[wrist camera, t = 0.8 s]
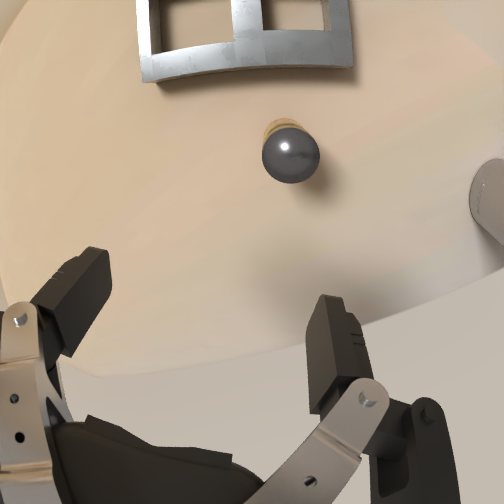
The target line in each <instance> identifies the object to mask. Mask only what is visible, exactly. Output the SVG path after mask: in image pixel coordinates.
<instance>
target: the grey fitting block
mask: <svg viewBox="0 0 504 504" xmlns="http://www.w3.org/2000/svg"><path fill="white" fill-rule="evenodd" d="M321 3H322V12H323V21H324V31H321V30H267V31H263V22H262V11H261V1H260V0H231V8H232V20H233V31H234V41H233V42H224V43H216V44H209V45H202V46H196V47H190V48H184V49H179V50H174V51H169V52H165V53H162V42H161V28H160V12H159V0H137V23H138V39H139V52H140V64H141V74H142V83H157V82H162V81H167V80H172V79H177V78H183V77H189V76H195V75H202V74H209V73H217V72H225V71H235V70H246V69H261V68H289V67H311V68H338V69H347V68H350V67H354V63H353V48H352V36H351V26H350V16H349V8H348V0H321Z"/></svg>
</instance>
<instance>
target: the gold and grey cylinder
mask: <svg viewBox="0 0 504 504" xmlns="http://www.w3.org/2000/svg"><path fill="white" fill-rule="evenodd" d="M319 159H320V153H319V148H318V145H317V143H316V142H315V140H314V139H313V138H312V137H311V136H310V135H309V134H308V132H307V131H306V130H305V129H304V128H303V127H302V126H301V125H300V124H299V123H297V122H296V121H294V120H291V119H286V118H283V119H278V120H275V121H273V122H272V123H271V124H270V125H269V126H268V127H267V129H266V130H265V133H264V140H263V149H262V161H263V165H264V167H265V169H266V171H267V172H268V173H269V174H270V175H271V176H272V177H273V178H274V179H276V180H278V181H280V182H283V183H291V184H292V183H299V182H302V181H304V180H306V179H307V178H309V177H310V176H311V175H312V174H313V173H314V172H315V170H316V169H317V167H318V164H319Z"/></svg>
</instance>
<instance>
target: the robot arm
mask: <svg viewBox="0 0 504 504" xmlns="http://www.w3.org/2000/svg"><path fill="white" fill-rule="evenodd" d="M470 209H471V213H472V215H473V218H474V219H475V220H476V222H477V223H479V224H480V225H481V226H482V227H483V228H484V229H485V230H486V231H488V232H489V233H490V234H491V235H492V236H493V237H494V238H495V239H496V240H497V241H498V242H499V243H500V244H501V245H502V246H503V247H504V160H501V159H493V160H491V161H488V162H487V163H486V164H484V165H483V166H482V167H481V169H480V170H479V171H478V173H477V175H476V176H475V178H474V181H473V183H472V187H471V191H470ZM111 290H112V277H111V269H110V259H109V253H108V251H107V250H104V249H99V248H95V247H91V246H90V247H88V248H86V249H85V250H84V251H83V253H82V254H81V255H80V256H79V257H77V256H76V257H74V258H72V259H70V260H68V261H67V262H65V263H64V264H63V265H62V266H61V267H60V268H59V269H58V272H56V273H55V274H54V275H53V276H52V278H51V279H49V280H48V281H47V282H46V284H45V285H44V286H43V287H42V288H41V289H40V290H39V292H38V293H37V294H36V295H35V296H34V297H33V298H32V300H31V301H30V302H18V303H15V304H13V305H11V306H10V307H9V308H8V309H7V310H6V311H5V312H3V311H0V504H332V502H333V501H334V500H335V498H336V497H337V496H338V495H339V493H340V492H341V490H342V489H343V488H344V486H345V485H346V484H347V482H348V481H349V480H350V478H351V477H352V475H353V474H354V472H355V471H356V469H357V468H358V466H359V464H360V462H361V460H362V458H361V457H360V454H361V453H363V454H367V455H369V464H370V491H371V504H461V502H460V493H459V486H458V480H457V472H456V466H455V461H454V455H453V450H452V446H451V440H450V436H449V432H448V427H447V423H446V419H445V415H444V412H443V410H442V408H441V406H440V405H439V404H438V403H437V402H436V401H434V400H433V399H431V398H427V397H422V398H419V399H417V400H416V401H415V402H414V403H413V404H412V405H410V404H406V403H403V402H400V401H397V400H394V399H391V398H389V395H388V392H387V391H386V389H385V388H384V387H383V386H382V385H381V384H380V383H379V382H377V381H375V380H374V377H373V372H372V368H371V364H370V360H369V356H368V352H367V348H366V346H365V340H364V337H363V333H362V329H361V325H360V323H359V322H358V320H357V319H356V317H355V316H354V315H353V313H347V312H346V310H345V306H344V302H343V299H342V298H341V297H335V296H329V295H323V294H322V295H321V296H320V297H319V300H318V302H317V304H316V307H315V309H314V312H313V314H312V316H311V319H310V321H309V324H308V326H307V331H306V354H307V369H308V385H309V406H310V407H309V408H310V414H319V415H320V423H319V425H318V426H317V427H316V428H315V429H314V430H313V432H312V433H311V434H310V435H309V436H308V437H307V439H306V440H305V441H304V442H303V443H302V444H301V445H300V446H299V447H298V449H297V450H296V451H295V452H294V453H293V454H292V455H291V456H290V457H289V458H288V459H287V460H286V462H284V464H283V465H281V467H279V469H278V470H276V471H275V472H274V473H273V474H272V475H271V476H270V477H269V478H268V479H267V480H266V481H265V482H263V481H262V480H261V479H260V478H259V477H257V476H256V475H255V474H254V473H253V472H251V471H249V470H248V469H246V468H244V467H242V466H240V465H238V464H236V463H233V462H232V454H229V453H223V452H217V451H211V450H206V449H201V448H196V447H157V446H152V445H150V444H148V443H147V442H145V441H143V440H141V439H140V438H138V437H136V436H135V435H133V434H131V433H130V432H128V431H126V430H125V429H123V428H122V427H120V426H117V425H114V424H112V423H109V422H106V421H103V420H101V419H98V418H95V417H93V416H91V415H88V416H87V418H86V420H85V422H74V421H73V418H72V416H71V413H70V411H69V409H68V406H67V402H66V398H65V393H64V389H63V384H62V379H61V373H60V367H59V362H58V360H57V359H58V357H59V356H60V354H63V355H65V356H67V357H70V358H71V357H72V356H73V354H74V352H75V351H76V349H77V347H78V346H79V344H80V342H81V341H82V339H83V337H84V336H85V334H86V332H87V331H88V329H89V328H90V326H91V324H92V323H93V321H94V320H95V318H96V317H97V315H98V314H99V312H100V310H101V309H102V307H103V306H104V304H105V303H106V301H107V300H108V298H109V296H110V294H111Z"/></svg>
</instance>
